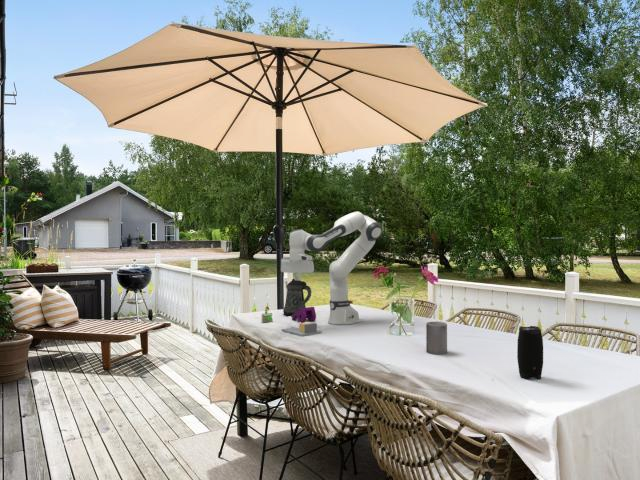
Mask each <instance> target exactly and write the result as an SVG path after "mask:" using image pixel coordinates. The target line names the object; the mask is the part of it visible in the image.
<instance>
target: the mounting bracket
mask: <svg viewBox="0 0 640 480" xmlns="http://www.w3.org/2000/svg"><path fill="white" fill-rule="evenodd" d="M291 316H292V317H291V319H292V320H297V321H298V323H300V322H301V323H304V322H312V323H313V322H315V321H316V319H317V314H316V310H315V306H311V307H310V306H308V307H306V308H301V309H299V310H298V311H297V312H295V313H294V314H293V315H291Z"/></svg>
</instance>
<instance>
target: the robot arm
mask: <svg viewBox="0 0 640 480" xmlns="http://www.w3.org/2000/svg"><path fill="white" fill-rule="evenodd" d="M357 230H358V231H359V232H360V235H359V237H357V238H356V239H355V240H354V241H353V242H352V243H351V244H350V246H348V247H347V248H346V249H345V251H343V253H342V254H341V255H340V256H339V258H337V260H334V261H332V262H331V263H330V265H329V268H328V270H329V286H330V287H329V290H330V293H329V294H330V295H329V296H330V298H329V299H330V300H329V308H330V309H329V318H328V323H329V324H332V325H353V324H356V323H361V322H363V319H361V318H360V317H359V316H360V315H359V312H358V310H357V309H355V308H353V307H352V304H354V301H353V300H351V299H350V300H349V287H348V286H349V285H348V277H347V276H348V275H349V274H350V273H351V272H352V270H354V268H355V267H356V266H357V265H358V263H359V262H360V261H361V260H362V259H363V258H364V257H366V255H367V254H368V253H369V252H370V250H371V249H372V248H373V247H374V245H375V244H376V241H377V240H378V238H379V237H380V236H381V234H382V232H383V227H382V226H381V224H380V223H379V222H377V221H376V220H375V219H373V218H371V216H370V217H369V216H368V215H366V214H364V213H362V212H360V211H353V212H350V213H348V214H346V215H343V216H342V217H339V218H338V219H337V220H336V221H335V222H334V224H333V227H332V228H330V229H328V230H327V231H325V232H322V234H311V233H308V232H306V231H304V229H301V228H299V229H293V230H291V231H290V233H289V241H288V242H289V243H288V245H289V256H283V257H282V258H281V259H280V272H281V273H292V276H293V279H295V280H300V281H301V277H302V275H303V273H304V274H312V273H314V272H315V267H314V265H315V264H314V260H313V256H312V255H308V254H306V253H305V251H309V252H312V253H319V252H321V251H322V250H323V249H324V248H325V247H326V246H327V245H328V244H329V243H330V242H333V241H335V240H336V239H338V238H340V237H344V236H347V235H349V234H351V233H353V232H355V231H357ZM297 274H298V277H297Z"/></svg>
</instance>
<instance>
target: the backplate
mask: <svg viewBox="0 0 640 480" xmlns="http://www.w3.org/2000/svg"><path fill="white" fill-rule="evenodd" d="M281 332H284V333H288V334H290V335H295V336H297V337H298V336H299V337H307V336H313V335H319V334H322V333H323V331H322V330H318V326H317V323H316V322H312V323H311V324H305V333H304V332H299V325H298V326H297V325H291V326H290V327H288V328H281Z"/></svg>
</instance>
